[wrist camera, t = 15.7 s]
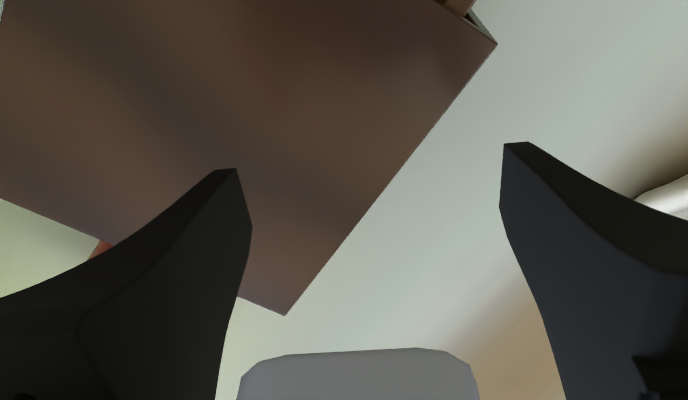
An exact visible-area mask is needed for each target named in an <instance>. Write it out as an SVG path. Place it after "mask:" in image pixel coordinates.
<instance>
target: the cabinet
mask: <svg viewBox="0 0 688 400" xmlns="http://www.w3.org/2000/svg"><path fill="white" fill-rule="evenodd" d="M497 44H498V43H497V42H496V41H495V39H494V38H493V37H492V35H491V34H490V33H489V31H488V30H487V29H486V28H485V26H484V25H483V24H482V22H481V21H480V20H479V19H478V17H477V16H476V15H475V13H474V12H473V11H472V9H471V8H470V10H469V11H468V12H467V14H466V15H465V17H462V16H461V15H459V14H458V13H456V12H455V11H453V10H452V9H450V8H449V7H448V6H446V5H445V4H443V3H442V2H440V1H439V0H5V1H4V6H3V11H2V16H1V22H0V198H1V199H3V200H6V201H8V202H11V203H13V204H15V205H18V206H20V207H23V208H25V209H27V210H30V211H32V212H35V213H37V214H39V215H42V216H44V217H47V218H49V219H51V220H54V221H56V222H59V223H61V224H64V225H66V226H68V227H71V228H73V229H76V230H78V231H80V232H83V233H85V234H88V235H90V236H92V237H95V238H97V239H100V240H102V241H105V242H107V243H109V244H112V245H116V244H118V243H119V242H121V241H122V240H124V239H126V238H127V237H129V236H130V235H132V234H133V233H135V232H136V231H138V230H139V229H141V228H142V227H143V226H145V225H146V224H147V223H149V222H150V221H151V220H153V219H154V218H155V217H156V216H158V215H159V214H160V213H162V212H163V211H164V210H166V209H167V208H168V207H170V206H171V205H172V204H173V203H174V202H176V201H177V200H178V199H179V198H180V197H181V196H183V195H184V194H185V193H186V192H187V191H189V190H190V189H191V188H192V187H193V186H195V185H196V184H197V183H198V182H199V181H200V180H202V179H203V178H204V177H205V176H207V175H208V174H209V173H211V172H212V171H214V170H216V169H227V168H237V172H238V175H239V179H240V183H241V186H242V190H243V193H244V197H245V200H246V204H247V208H248V211H249V215H250V218H251V222H252V226H253V229H252V237H251V245H250V251H249V257H248V261H247V264H246V268H245V271H244V274H243V278H242V281H241V284H240V288H239V291H238V294H237V297H239V298H242V299H244V300H247V301H249V302H252V303H254V304H256V305H259V306H261V307H264V308H266V309H268V310H271V311H273V312H276V313H278V314H280V315H283V316H285V315H286V314H287V313H288V311H289V310H290V309H291V308H292V306H293V305H294V304H295V302H296V301H297V300H298V299H299V297H300V296H301V295H302V294H303V292H304V291H305V290H306V288H307V287H308V286H309V285H310V283H311V282H312V281H313V280H314V278H315V277H316V276H317V274H318V273H319V272H320V271H321V269H322V268H323V267H324V266H325V264H326V263H327V262H328V260H329V259H330V258H331V257H332V255H333V254H334V253H335V252H336V250H337V249H338V248H339V246H340V245H341V244H342V243H343V241H344V240H345V239H346V237H347V236H348V235H349V234H350V232H351V231H352V230H353V229H354V227H355V226H356V225H357V223H358V222H359V221H360V220H361V218H362V217H363V216H364V215H365V213H366V212H367V211H368V209H369V208H370V207H371V206H372V204H373V203H374V202H375V201H376V199H377V198H378V197H379V195H380V194H381V193H382V192H383V190H384V189H385V188H386V187H387V185H388V184H389V183H390V181H391V180H392V179H393V178H394V176H395V175H396V174H397V173H398V171H399V170H400V169H401V167H402V166H403V165H404V164H405V162H406V161H407V160H408V158H409V157H410V156H411V155H412V153H413V152H414V151H415V150H416V148H417V147H418V146H419V144H420V143H421V142H422V141H423V139H424V138H425V137H426V136H427V134H428V133H429V132H430V130H431V129H432V128H433V127H434V125H435V124H436V123H437V122H438V120H439V119H440V118H441V116H442V115H443V114H444V113H445V111H446V110H447V109H448V108H449V106H450V105H451V104H452V102H453V101H454V100H455V99H456V97H457V96H458V95H459V94H460V92H461V91H462V90H463V88H464V87H465V86H466V85H467V83H468V82H469V81H470V80H471V78H472V77H473V76H474V74H475V73H476V72H477V71H478V69H479V68H480V67H481V65H482V64H483V63H484V62H485V60H486V59H487V58H488V57H489V55H490V54H491V53H492V51H493V50H494V49H495V48H496V46H497Z"/></svg>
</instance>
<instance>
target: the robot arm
mask: <svg viewBox="0 0 688 400" xmlns="http://www.w3.org/2000/svg"><path fill="white" fill-rule="evenodd" d="M499 209H500V213H501V216H502V220H503V224H504V228H505V231H506V234H507V238H508V240H509V243H510V245H511V247H512V249H513V252H514V254H515V256H516V259H517V261H518V263H519V265H520V267H521V270H522V272H523V274H524V276H525V279H526V281H527V283H528V285H529V287H530V290H531V292H532V294H533V296H534V299H535V301H536V303H537V306H538V308H539V311H540V313H541V316H542V319H543V322H544V325H545V328H546V332H547V335H548V338H549V341H550V344H551V348H552V351H553V354H554V358H555V361H556V365H557V368H558V372H559V375H560V378H561V382H562V385H563V389H564V393H565V397H566V400H688V220H685V219H682V218H679V217H676V216H673V215H670V214H667V213H664V212H661V211H659V210H656V209H653V208H651V207H648V206H646V205H644V204H641V203H639V202H637V201H634V200H632V199H629V198H627V197H625V196H623V195H621V194H618V193H616V192H614V191H612V190H610V189H609V188H607V187H605V186H603V185H601V184H599V183H597V182H595V181H593V180H591V179H590V178H588V177H586V176H584V175H583V174H581V173H579V172H577V171H576V170H574V169H572V168H571V167H569V166H568V165H566V164H564V163H563V162H561V161H559V160H558V159H556V158H555V157H553V156H552V155H550V154H548V153H547V152H545V151H544V150H542V149H540V148H539V147H537V146H535V145H534V144H532V143H530V142H517V143H506V144H504V149H503V162H502V176H501V189H500V202H499ZM252 229H253V226H252V222H251V218H250V215H249V211H248V208H247V204H246V200H245V197H244V193H243V190H242V186H241V183H240V179H239V175H238V172H237V168H227V169H216V170H214V171H212V172H211V173H209V174H208V175H207V176H205V177H204V178H203V179H202V180H200V181H199V182H198V183H197V184H196V185H195V186H193V187H192V188H191V189H190V190H189V191H187V192H186V193H185V194H184V195H183V196H181V197H180V198H179V199H178V200H177V201H176V202H174V203H173V204H172V205H171V206H170V207H168V208H167V209H166V210H164V211H163V212H162V213H160V214H159V215H158V216H156V217H155V218H154V219H153V220H151V221H150V222H149V223H147V224H146V225H145V226H143V227H142V228H141V229H139V230H138V231H136V232H135V233H133V234H132V235H130V236H129V237H127V238H126V239H124V240H122V241H121V242H119V243H118V244H116V245H114V246H113V247H111V248H109V249H108V250H106V251H104V252H102V253H100V254H99V255H97V256H95V257H93V258H91V259H89V260H87V261H85V262H84V263H82V264H80V265H78V266H76V267H74V268H72V269H70V270H68V271H66V272H64V273H61V274H59V275H57V276H55V277H53V278H50V279H48V280H46V281H43V282H41V283H39V284H36V285H34V286H31V287H29V288H26V289H24V290H21V291H18V292H16V293H13V294H10V295H7V296H4V297H2V298H0V400H215V395H216V388H217V382H218V375H219V369H220V363H221V358H222V352H223V347H224V341H225V336H226V332H227V328H228V324H229V320H230V317H231V314H232V310H233V307H234V304H235V301H236V297H237V294H238V291H239V288H240V284H241V281H242V278H243V274H244V271H245V268H246V264H247V261H248V257H249V251H250V245H251V237H252ZM236 400H480V397H479V392H478V388H477V384H476V381H475V378H474V376H473V373H472V371H471V368H470V366H469V365H468V364H467V363H465V362H463V361H462V360H460V359H458V358H456V357H455V356H453V355H451V354H450V353H448V352H445V351H441V350H433V349H424V348H400V349H382V350H364V351H346V352H328V353H310V354H292V355H284V356H280V357H276V358H272V359H268V360H263V361H260V362H258V363H257V364H255V365H254V366H253V367H252V368H251V369H250V370H249V371H248V372H247V373H245V374H244V375H243V376H242V377H241V382H240V386H239V391H238V395H237V399H236Z"/></svg>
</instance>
